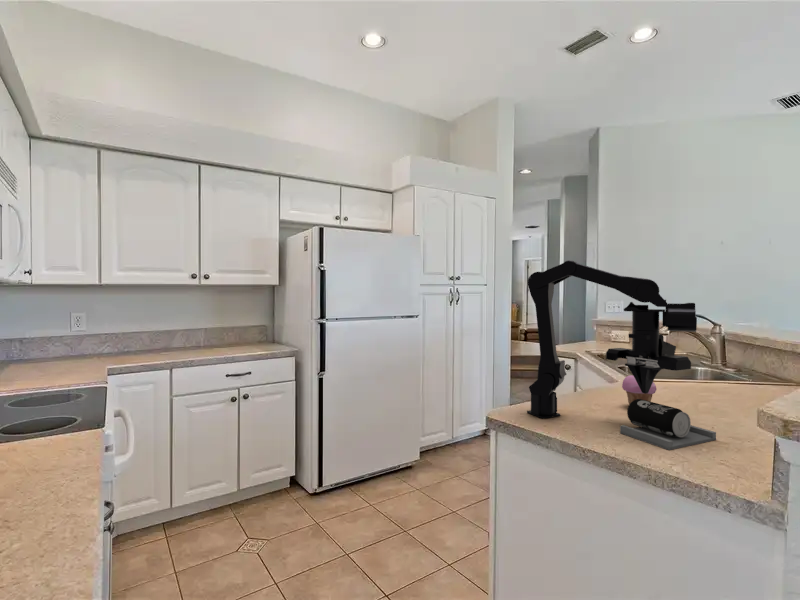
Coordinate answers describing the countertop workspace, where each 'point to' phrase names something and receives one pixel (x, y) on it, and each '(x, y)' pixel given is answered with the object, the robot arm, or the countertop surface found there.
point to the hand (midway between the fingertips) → (645, 393)
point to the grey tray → (668, 442)
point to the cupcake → (636, 390)
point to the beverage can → (659, 418)
